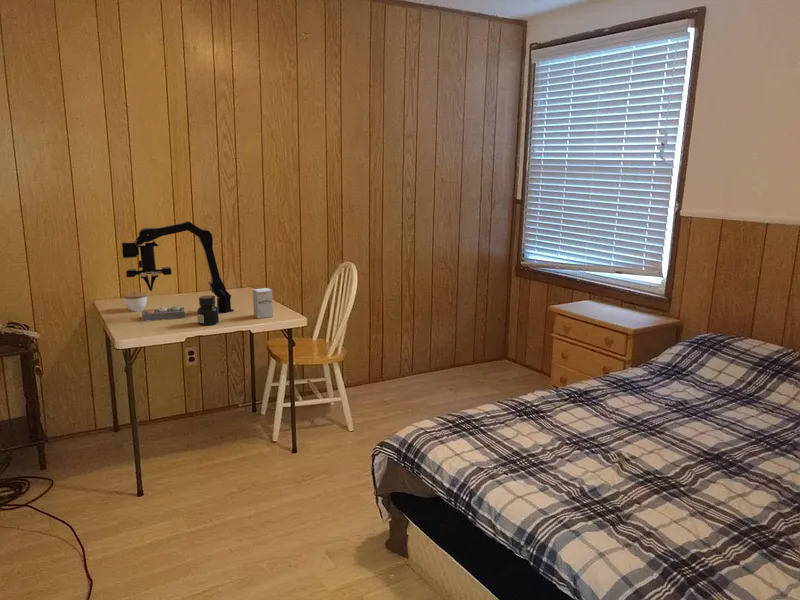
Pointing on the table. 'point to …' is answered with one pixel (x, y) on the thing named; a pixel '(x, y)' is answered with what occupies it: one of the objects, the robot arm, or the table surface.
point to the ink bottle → (207, 311)
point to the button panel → (163, 314)
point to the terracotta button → (150, 311)
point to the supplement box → (262, 302)
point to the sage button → (176, 308)
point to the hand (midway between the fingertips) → (150, 290)
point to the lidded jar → (135, 300)
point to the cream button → (163, 309)
